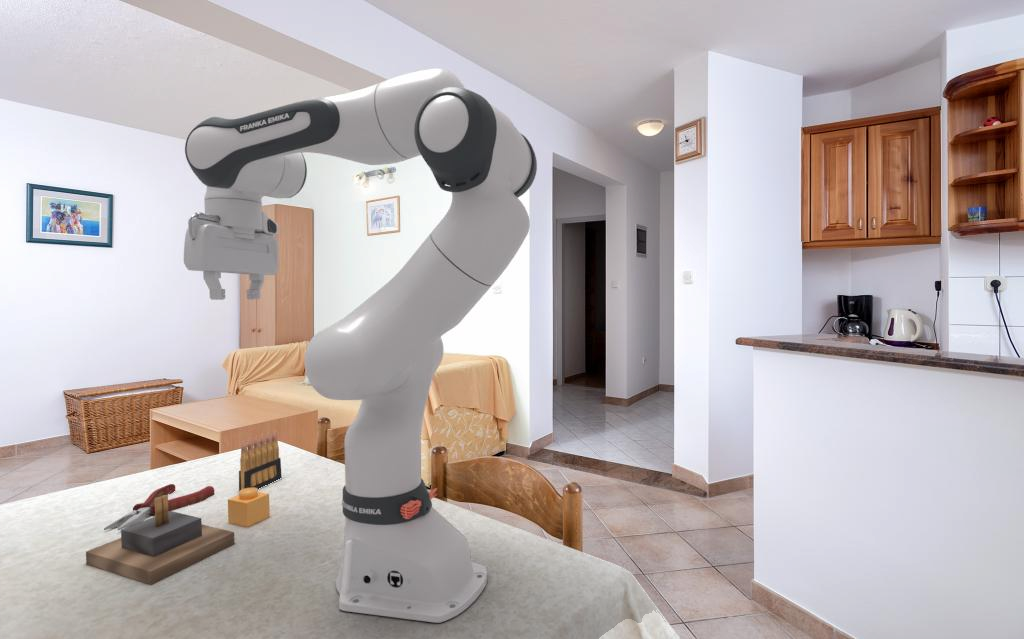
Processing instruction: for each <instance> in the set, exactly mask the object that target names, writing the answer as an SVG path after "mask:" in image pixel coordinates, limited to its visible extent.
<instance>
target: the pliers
mask: <svg viewBox="0 0 1024 639" xmlns="http://www.w3.org/2000/svg"><path fill="white" fill-rule="evenodd" d="M174 491H175V492H176V485H175V484H174V483H169V484H167V485H165V486H162V487H159V488H157V489H155V490H154V491H153V492H151V493H150V495H149V496H148V497H147V498H146V499H145V501H144V502H140V503H136V504H135V505H134V506H133V507H132V511H130V512H128V513H126V514H124V515H123V516H121V517H120V518H118V519H117V520H115V521H113V522H112V523H110V524H109V525H107V526H106V527H104V528H103V530H104V531H107V530H111V529H114V528H117V527H118V528H117V531H121V530H122V529H124V528H127V527H129V526H132V525H135V524H137V523H140V522H143V521H145V520H147V518H148V519H149V518H151V517H155V502H154V499H155V498H157V497H161V496H163V495H168V494H169V495H171V494H173V492H174ZM175 492H174V493H175ZM169 495H168V496H169ZM214 495H215V488H214V487H213V486H211V485H207V486H205V487H204V488H202V489H200V490H198V491H194V492H192V493H189V494H186V495H181V496H178V497H173V498H170V499H168V512H169V511H175V510H177V509H182V508H185V507H188V505H189V506H192V505H194V504H195V505H196V504H198V503H201V502H203V501H205V500H207V499H209V498H210V497H212V496H214ZM208 497H209V498H208ZM206 498H207V499H206ZM200 501H201V502H200Z"/></svg>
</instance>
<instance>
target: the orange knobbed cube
mask: <svg viewBox="0 0 1024 639" xmlns="http://www.w3.org/2000/svg"><path fill="white" fill-rule="evenodd" d="M270 512H271V511H270V493H267V492H266V493H265V492H262V491H261V492H260V491H259V490H258V488H255V487H250V488H245V489H242V490H240V491H239V490H238V495H235V496H233V497H230V498H228V499H227V514H228V517H227V519H228V520H227V521H228V522H227V523H228V524H232V525H236V526H240V527H245V528H249V527H251V526H253V525H255V524H257V523H259V522H262V521H264V520H266V519H268V518H270Z"/></svg>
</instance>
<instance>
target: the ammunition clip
mask: <svg viewBox="0 0 1024 639" xmlns="http://www.w3.org/2000/svg"><path fill="white" fill-rule="evenodd" d="M260 434H261V435H260V439H259V435H257V434H255V437H254V440H253V438H252V437H251V436H249V438H248V441H247V440H246V439H245V438H243V439H242V442H241V445H240V459H239V460H240V461H239V464H240V466H239V467H240V468H239V469H240V470H238V492H239V491H240V490H242V489H245V488H250V487H255V488H258V489H259V488H261V487H263V486H265V485H267V486H269V485H268V484H270V483H272V482H274V481H276V480H278V479H280V478H283V477H282V460H281V457H280V447H279V440H278V435H277V434H278V433H277V429H275V428H274V429H273V430H272V433H271V432H270V431H269V430H268V431H267V432H266V436H265V434H264V433H263V432H262V433H260ZM276 482H277V481H276ZM274 483H275V482H274ZM272 484H273V483H272ZM270 485H271V484H270ZM265 487H266V486H265ZM263 488H264V487H263ZM261 489H262V488H261ZM259 490H260V489H259Z"/></svg>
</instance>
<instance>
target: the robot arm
mask: <svg viewBox="0 0 1024 639" xmlns="http://www.w3.org/2000/svg"><path fill="white" fill-rule="evenodd" d="M186 138H187V139H186V140H185V145H184V146H185V147H184V153H185V159H186V161H187V163H188V165H189V167H190V169H191V170H192V172H193V173H194V175H195V176H196V177H197V179H198V180H199V181H200V182H201V183H202V184H203V185H205V186H206V192H205V194H204V212H199V211H198V212H195V213H194V214H192V215H191V216H190V218H188V221H187V224H188V225H187V226H188V227H187V228H186V230H185V236H184V244H183V264H184V266H185V268H186V269H187V270H188V271H192V272H193V271H194V272H203V276H202V277H203V280H204V282H205V284H206V286H207V288H208V290H209V299H210V300H215V301H219V300H220V301H221V300H226V288H222V285H221V281H220V279H221V278H222V273H223V274H240V275H248V280H249V281H250V285H249V289H246V299H247V300H260V299H261V290H262V287H263V285H264V282H265V276H275V275H277V272H278V270H279V264H280V263H279V260H280V259H279V257H280V256H279V242H278V239H277V238H276V236H278V235H279V233H280V227H279V224H278V223H277V222H276V221H274V220H273V219H272V218H270V216H269V215H267V213H266V212H265V211H263V203H262V199H263V197H267V198H268V197H269V198H274V199H291V198H293V197H295V196H296V195H298V194H299V193H300V192H301V190H302V189H303V187H304V186H305V184H306V181H307V177H308V176H307V175H308V168H307V162H306V159H305V157H304V154H303V153H312V154H321V155H328V156H330V157H331V156H332V157H336V158H340V159H344V160H348V161H352V162H355V163H359V164H364V165H368V166H381V165H390V164H397V163H400V162H404V161H407V160H408V161H409V160H410V159H411V160H412V159H413V158H416V157H419V156H421V157H422V159H423V161H425V163H426V165H427V166H428V167H429V169H430V171H431V173H432V175H433V177H434V179H435V181H436V184H437V185H438V187H439V188H440V189H441V190H442V191H445V192H448V193H449V192H450V193H451V194H452V195H451V198H452V199H451V203H450V206H449V209H448V211H447V212H446V213H445V215H444V217H442V219H441V220H440V221H439V222H438V223H437V225H436V226H435V227H434V229H432V231H431V232H430V233H429V235H428V236H427V237H426V239H424V241H423V242H422V244H420V246H419V247H418V249H417V250H415V252H414V253H413V254H412V255H411V257H410V258H409V259H408V260H407V261H406V263H405V264H404V265H403V266H402V268H400V270H399V271H398V272H397V273H396V274H395V275H394V276H393V277H392V278H391V279H390V280H389V281H388V282H386V283H385V284H384V285H383V286H381V288H380V289H378V290H377V291H376V292H375V293H373V294H372V295H371V296H369V297H368V298H367V299H366V300H365V301H363V302H362V303H361V304H360V305H359V306H357V307H356V308H355V309H353V310H352V311H351V312H349V313H348V314H347V315H346V316H344V317H343V318H341V319H340V320H339V321H337V322H334V323H333V324H331V325H330V326H327V327H326V328H323V329H322V330H320V331H318V332H317V333H316V334H314V335H313V336H312V338H311V339H310V341H309V343H308V344H307V347H306V350H305V352H304V353H305V354H304V370H305V374H306V378H307V379H308V382H309V383H310V386H311V387H312V388H313V389H314V391H316V392H317V393H318V394H319V396H322V397H324V398H325V399H329V400H332V401H333V400H335V401H361V403H360V405H359V409H358V412H357V413H356V415H355V417H354V419H353V421H352V422H351V424H350V425H349V426H348V429H347V431H346V433H345V436H344V444H343V445H344V477H345V478H344V480H345V483H344V484H345V485H344V486H343V488H342V500H341V505H342V514H343V516H344V518H345V519H344V521H345V522H344V535H343V546H342V553H341V558H340V565H339V569H338V573H337V577H336V580H335V588H336V590H337V593H338V595H339V596H338V597H339V598H338V609H339V610H340V611H343V612H350V613H351V612H352V613H357V614H358V613H359V614H367V615H372V616H373V615H374V616H379V617H380V616H382V617H388V618H389V617H390V618H396V619H405V620H413V621H418V622H419V621H421V622H429V623H436V624H437V623H443V622H446V621H447V620H451V619H453V618H454V617H456V616H458V615H459V614H462V613H463V612H464V611H466V609H467V608H469V607H470V606H471V605H472V604H473V603H474V602H475V601H476V600H477V599H478V597H479V596H480V595H481V594H482V592H483V591H484V589H485V587H486V586H487V581H488V573H487V567H486V566H485V565H482V564H480V563H477V562H474V561H473V559H472V553H471V548H470V544H469V541H468V539H467V537H466V535H465V534H463V533H462V532H461V531H460V530H459V529H458V528H457V527H456V526H454V525H453V524H452V523H451V522H450V521H448V520H447V518H446V517H444V516H443V515H442V514H441V513H440V512H439V511H437V510H436V508H434V507H433V502H432V499H434V498H435V497H437V495H438V493H436V492H437V490H438V488H437V487H435V488H433V489H432V490H430V491H428V489H427V485H426V483H425V481H424V480H423V478H422V432H423V431H422V430H423V429H422V428H423V421H424V417H425V416H424V415H425V411H426V406H427V401H428V398H429V394H430V390H431V386H432V385H431V384H432V381H433V378H434V375H435V373H436V372H437V369H439V366H440V365H441V363H442V360H443V357H444V343H443V340H442V336H443V335H445V334H447V333H448V332H449V331H451V330H452V329H454V328H456V327H457V326H458V325H459V324H460V323H461V322H462V321H463V320H464V319H465V317H466V316H467V315H468V314H469V312H471V311H472V309H474V307H475V306H476V304H477V303H478V302H479V301H480V300H481V299H482V298H483V296H484V295H485V294H486V293H487V292H488V291H489V290H490V288H492V286H493V285H494V284H495V282H497V280H499V278H500V277H501V275H503V273H504V272H505V270H506V269H507V268H508V266H509V265H510V263H511V262H512V261H513V259H514V257H515V256H516V255H517V253H518V251H519V250H520V248H521V247H522V245H523V243H524V241H525V239H526V238H527V236H528V234H529V231H530V226H531V225H530V221H531V220H530V217H529V214H528V211H527V209H526V207H525V205H524V204H523V202H522V201H521V200H520V199H519V198H520V197H521V196H523V195H524V194H525V193H526V192H527V191H528V190H529V189H530V187H531V186H532V185H533V183H534V180H535V178H536V175H537V170H538V162H537V156H536V153H535V150H534V147H533V146H532V144H531V142H530V141H529V140H528V138H527V137H526V136H525V135H524V134H523V133H521V132H520V130H519V129H518V128H517V127H516V126H515V124H514V123H513V122H512V120H511V119H510V118H509V117H508V116H507V115H506V114H504V113H503V111H501V110H499V109H498V108H497V107H496V106H494V105H493V104H491V103H490V102H489V101H488V100H487V99H486V98H485V97H483V96H482V95H480V94H478V93H477V92H475V91H472V90H469V89H466V88H465V85H464V83H462V81H461V80H460V79H459V78H458V77H457V76H456V75H455V74H454V73H453V72H451V71H450V70H448V69H445V68H440V67H439V68H438V67H435V68H428V69H423V70H416V71H413V72H408V73H404V74H401V75H397V76H394V77H392V78H389V79H386V80H384V81H381V82H378V83H376V84H372V85H370V86H367V87H364V88H361V89H357V90H354V91H351V92H346V93H341V94H337V95H331V96H324V97H318V98H313V99H308V100H307V99H306V100H302V101H296V102H293V103H289V104H285V105H281V106H278V107H274V108H271V109H268V110H263V111H260V112H257V113H254V114H250V115H247V116H242V117H240V118H239V117H238V118H233V119H232V118H224V117H219V116H218V117H217V116H212V117H209V118H206V119H205V120H203V121H201V122H199V123H198V124H197V125H195V127H193V129H192V130H191V131H190V133H189V134H188V136H187V137H186Z"/></svg>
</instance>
